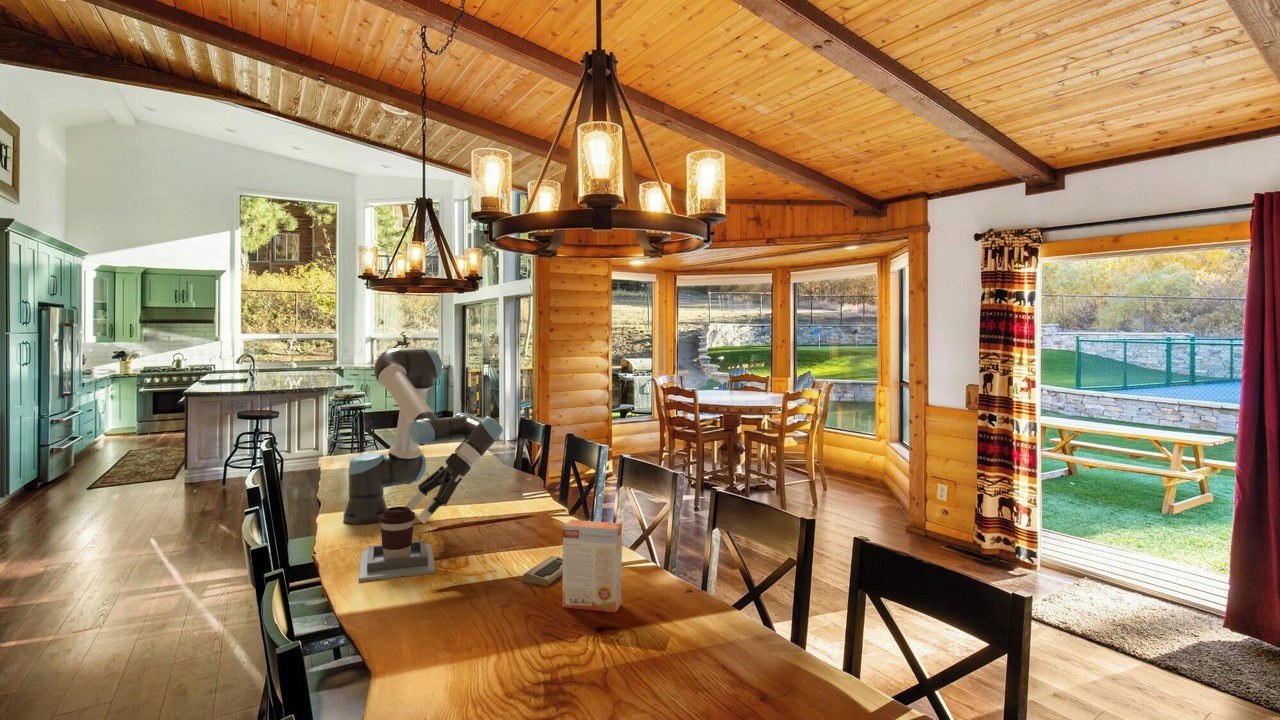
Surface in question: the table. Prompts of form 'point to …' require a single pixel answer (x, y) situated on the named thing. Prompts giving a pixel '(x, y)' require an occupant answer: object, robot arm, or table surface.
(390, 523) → the coffee cup
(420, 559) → the pocket plate
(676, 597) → the table surface
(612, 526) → the cracker box
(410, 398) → the robot arm
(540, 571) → the computer
